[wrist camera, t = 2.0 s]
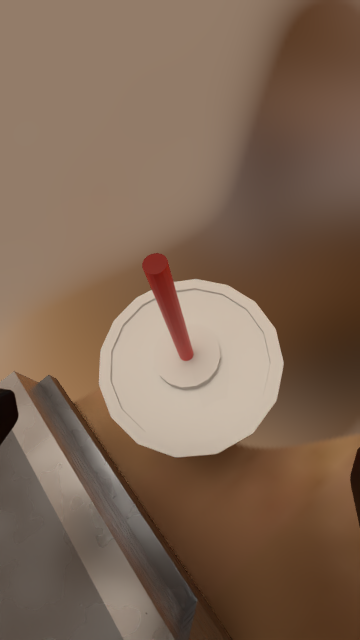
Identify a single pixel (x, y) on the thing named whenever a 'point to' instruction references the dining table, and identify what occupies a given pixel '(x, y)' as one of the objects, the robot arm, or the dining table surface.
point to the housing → (82, 537)
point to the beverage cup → (189, 365)
